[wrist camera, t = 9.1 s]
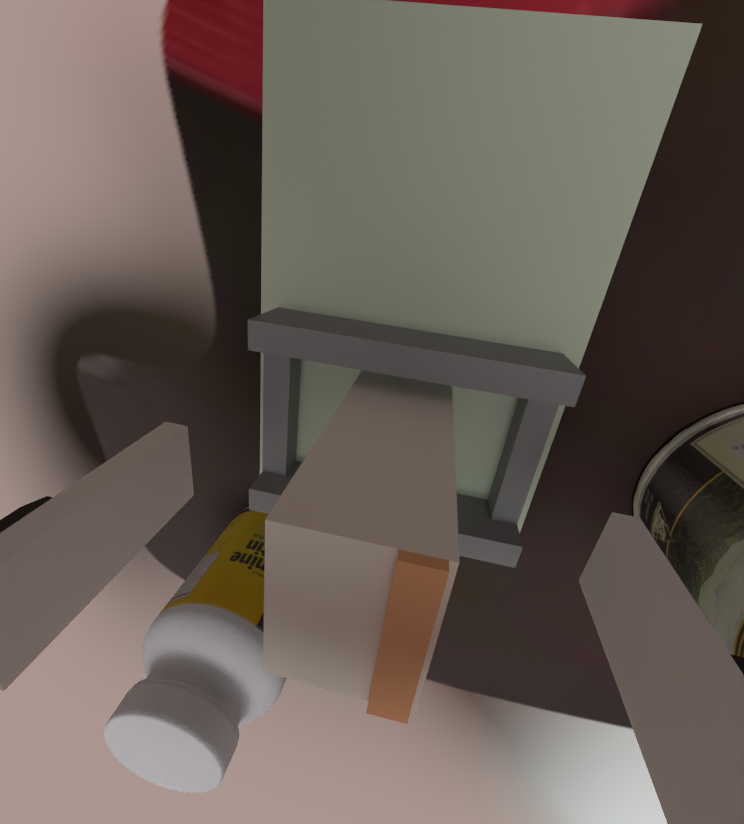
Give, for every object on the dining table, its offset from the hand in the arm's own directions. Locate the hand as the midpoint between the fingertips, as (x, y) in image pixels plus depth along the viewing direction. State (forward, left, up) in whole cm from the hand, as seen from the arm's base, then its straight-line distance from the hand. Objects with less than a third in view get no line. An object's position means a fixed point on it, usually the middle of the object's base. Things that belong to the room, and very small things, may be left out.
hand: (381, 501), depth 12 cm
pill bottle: (+10, -6, -8) cm, 15 cm away
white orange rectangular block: (0, 0, -7) cm, 7 cm away
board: (-5, 0, -8) cm, 9 cm away
